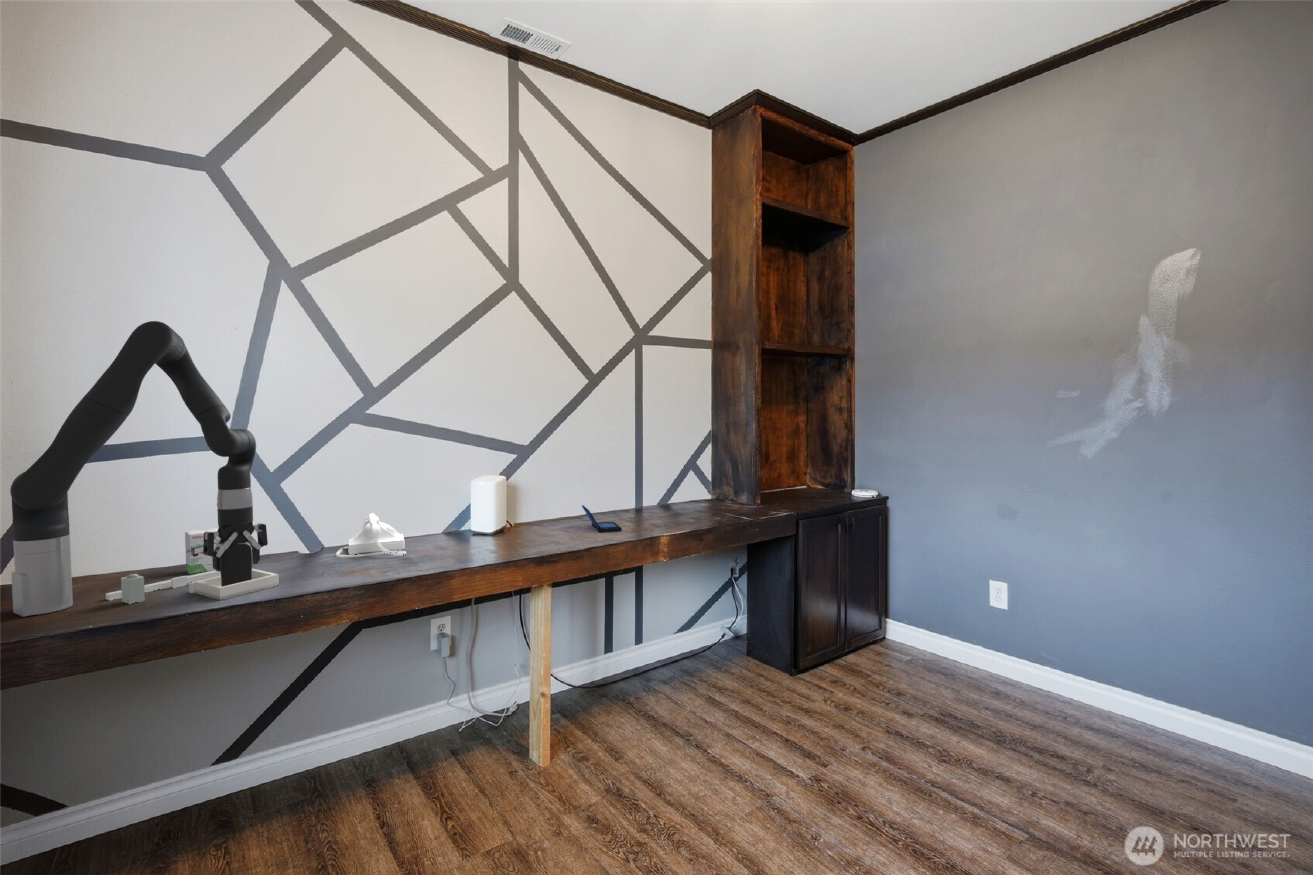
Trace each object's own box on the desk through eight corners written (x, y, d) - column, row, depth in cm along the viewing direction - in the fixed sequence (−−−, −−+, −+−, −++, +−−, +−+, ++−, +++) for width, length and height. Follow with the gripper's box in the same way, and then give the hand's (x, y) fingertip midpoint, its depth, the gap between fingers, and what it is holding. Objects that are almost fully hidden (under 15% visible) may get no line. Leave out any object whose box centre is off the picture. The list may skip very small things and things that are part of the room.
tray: (220, 600, 147) (220, 588, 147) (195, 593, 152) (195, 581, 152) (278, 585, 159) (278, 574, 159) (253, 579, 165) (253, 568, 165)
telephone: (407, 557, 191) (406, 518, 190) (333, 564, 182) (332, 524, 181) (403, 541, 213) (402, 507, 213) (337, 547, 204) (336, 511, 204)
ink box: (189, 574, 170) (187, 533, 169) (185, 571, 173) (184, 531, 173) (225, 568, 176) (224, 529, 176) (221, 565, 180) (220, 527, 179)
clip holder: (130, 607, 141) (129, 580, 141) (105, 599, 148) (104, 573, 147) (255, 578, 166) (254, 554, 166) (230, 572, 172) (229, 549, 172)
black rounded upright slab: (252, 582, 159) (251, 540, 159) (253, 585, 156) (251, 542, 156) (220, 586, 155) (219, 543, 155) (220, 590, 152) (218, 546, 152)
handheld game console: (622, 532, 230) (622, 508, 229) (588, 534, 226) (587, 510, 225) (613, 524, 245) (613, 502, 244) (581, 526, 241) (581, 503, 240)
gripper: (212, 510, 147) (214, 575, 147) (271, 502, 159) (273, 562, 160) (196, 508, 150) (198, 571, 151) (256, 500, 163) (258, 559, 164)
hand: (237, 567), depth 156 cm, fingers open, 8 cm apart
